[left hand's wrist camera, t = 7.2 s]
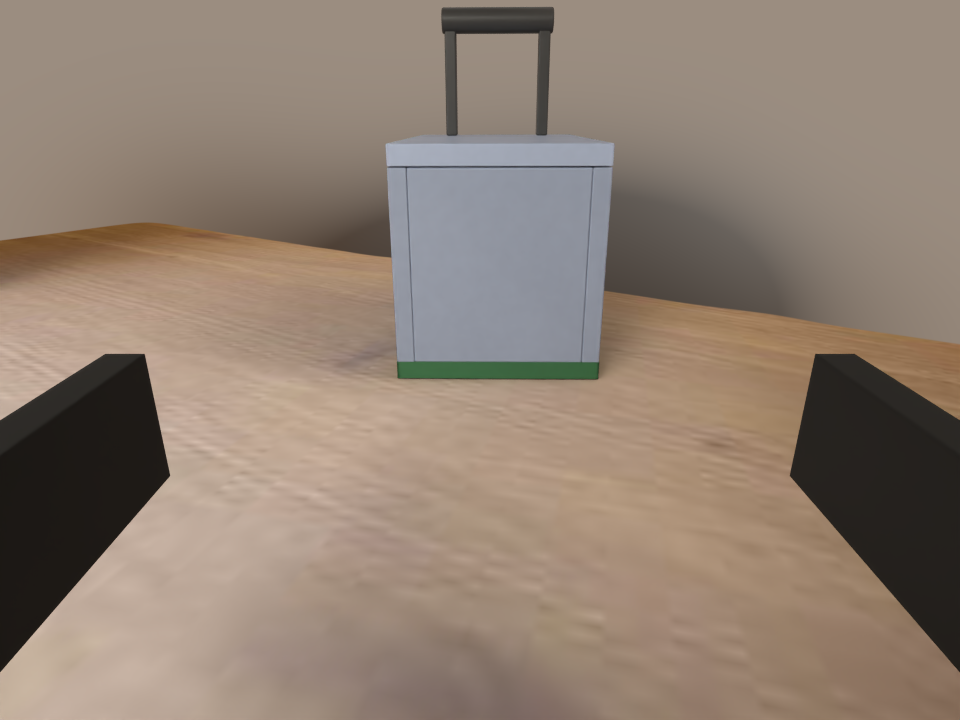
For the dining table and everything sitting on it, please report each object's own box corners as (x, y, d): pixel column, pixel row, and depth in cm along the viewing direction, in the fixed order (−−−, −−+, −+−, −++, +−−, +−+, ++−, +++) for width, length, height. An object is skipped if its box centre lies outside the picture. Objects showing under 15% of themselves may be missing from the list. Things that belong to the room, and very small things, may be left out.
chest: (427, 295, 47) (422, 150, 43) (563, 295, 47) (570, 150, 43) (397, 378, 32) (386, 167, 28) (598, 379, 32) (613, 167, 28)
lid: (423, 149, 44) (418, 13, 41) (569, 149, 43) (576, 12, 40) (386, 166, 28) (374, -52, 25) (613, 166, 28) (629, -53, 25)
